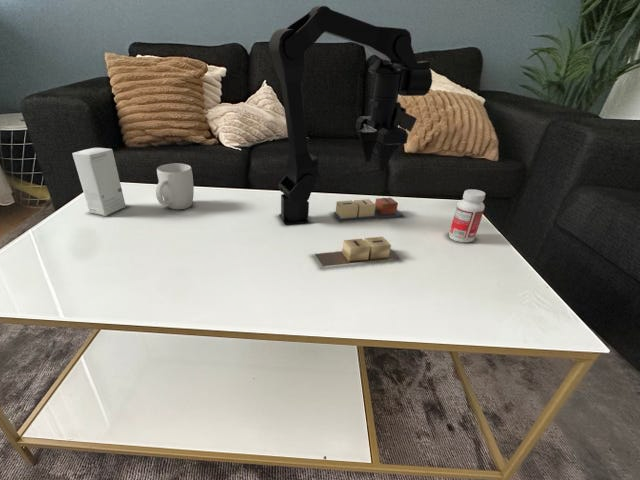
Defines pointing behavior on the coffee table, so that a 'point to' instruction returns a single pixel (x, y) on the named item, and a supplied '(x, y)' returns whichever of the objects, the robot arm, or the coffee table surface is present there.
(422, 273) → the coffee table surface
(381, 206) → the red wooden cube
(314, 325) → the coffee table surface
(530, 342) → the coffee table surface
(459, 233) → the pill bottle
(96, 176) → the cosmetic box
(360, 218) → the far word
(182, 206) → the mug
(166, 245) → the coffee table surface
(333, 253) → the near word
